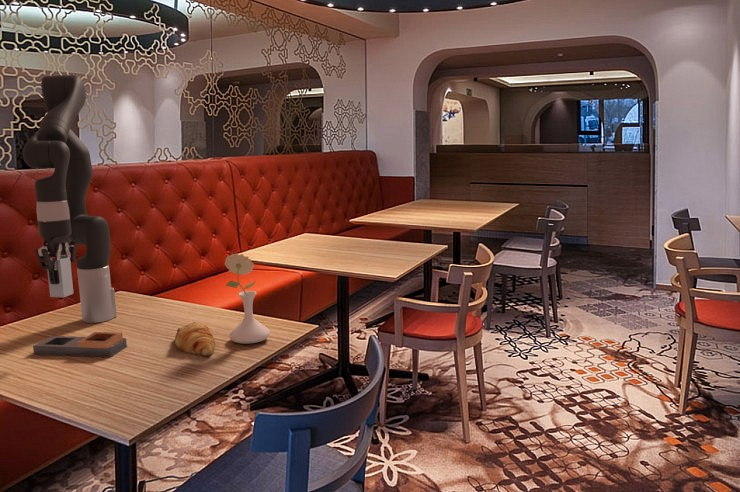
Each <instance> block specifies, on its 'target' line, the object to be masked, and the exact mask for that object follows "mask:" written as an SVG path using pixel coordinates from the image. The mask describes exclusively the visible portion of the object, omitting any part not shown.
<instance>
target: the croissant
mask: <svg viewBox="0 0 740 492" xmlns="http://www.w3.org/2000/svg"><path fill="white" fill-rule="evenodd" d="M176 331H177V332H176V334H175V336H174V337H175V338H174V343H175V346H176V347H177V348H178V349H180V350H181V351H183V352H184V353H185V352H186V353H191V354H193V355H194V354H195V355H202V356H204V357H205V356H211V355H212V354H213V353H214V352H215V350H216V341H215V338H214V335H213V333H212V331H211V330H210V328H209V327H208V326H206V325H205V324H202V323H198V322H192V323H189V324H186V325H185V326H182V327H179V328H177V330H176Z"/></svg>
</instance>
